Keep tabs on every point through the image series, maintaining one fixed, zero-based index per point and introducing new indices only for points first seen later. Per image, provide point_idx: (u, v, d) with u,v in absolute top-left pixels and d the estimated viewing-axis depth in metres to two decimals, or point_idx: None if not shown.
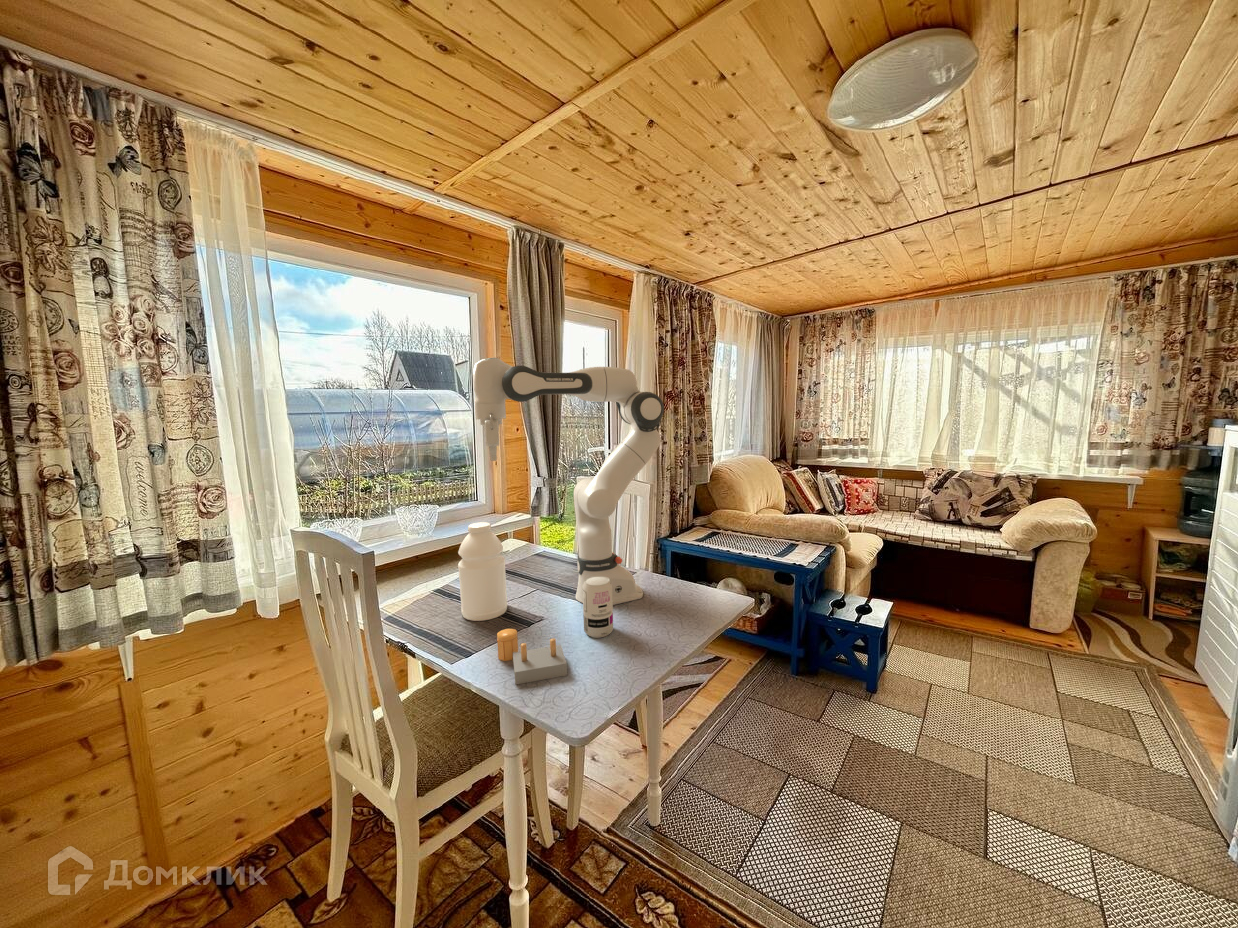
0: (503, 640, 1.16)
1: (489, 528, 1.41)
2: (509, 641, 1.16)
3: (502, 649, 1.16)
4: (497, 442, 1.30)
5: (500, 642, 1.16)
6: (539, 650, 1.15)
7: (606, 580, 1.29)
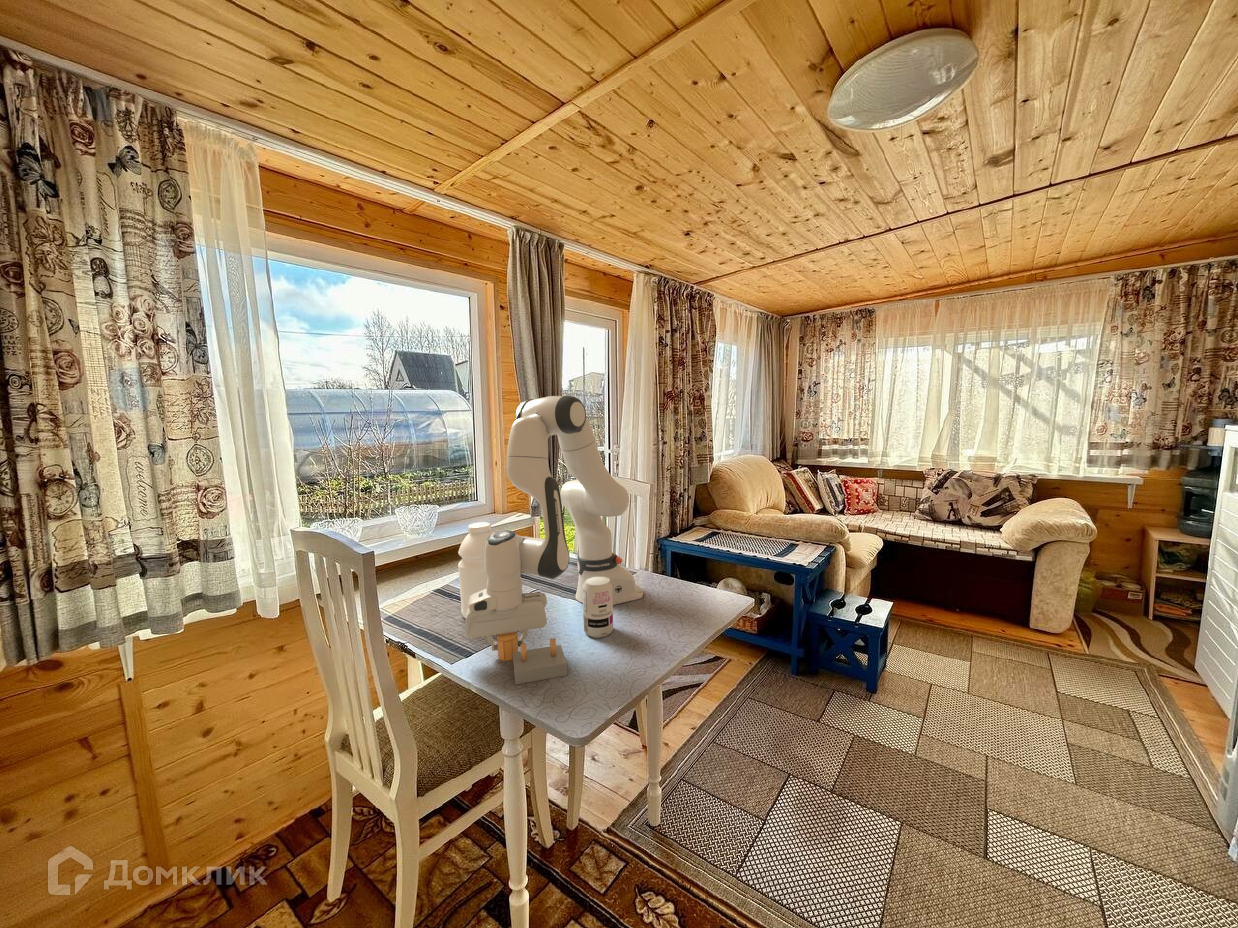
0: (503, 640, 1.16)
1: (489, 528, 1.41)
2: (509, 641, 1.16)
3: (502, 649, 1.16)
4: None
5: (500, 642, 1.16)
6: (539, 650, 1.15)
7: (606, 580, 1.29)
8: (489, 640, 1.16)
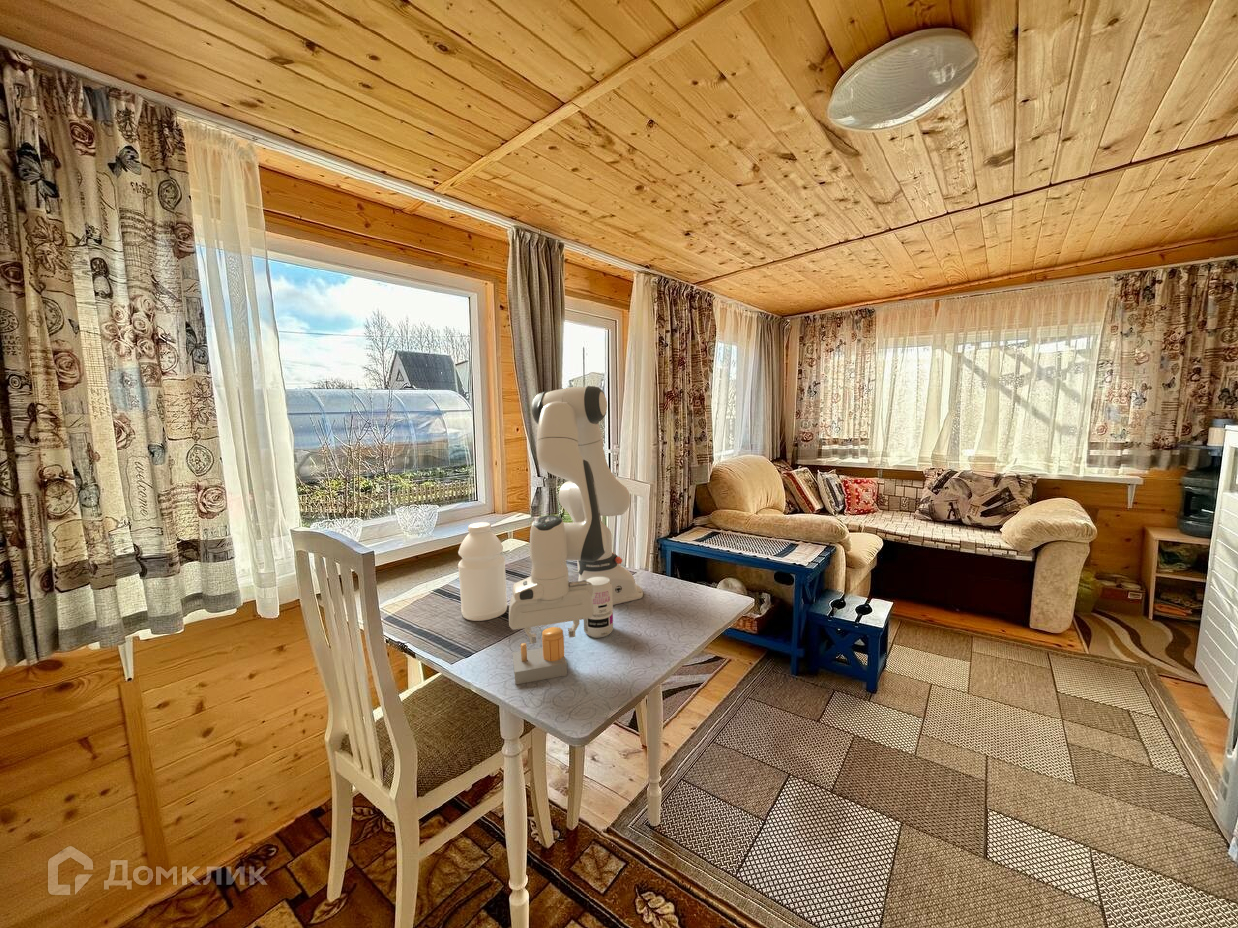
0: (549, 639, 1.09)
1: (489, 528, 1.41)
2: (555, 640, 1.10)
3: (548, 649, 1.10)
4: None
5: (546, 641, 1.10)
6: (539, 650, 1.15)
7: (606, 580, 1.29)
8: (527, 632, 1.09)
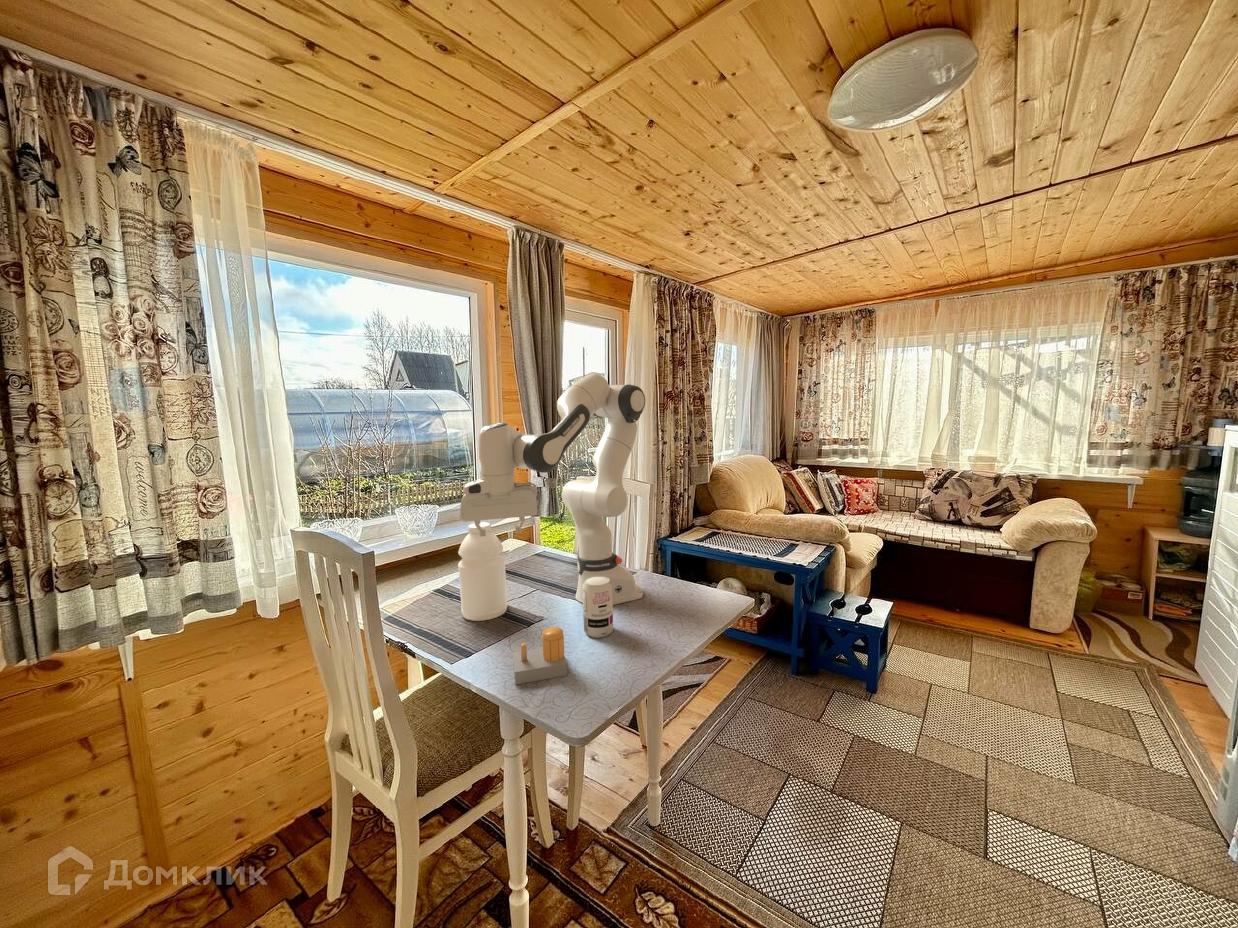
0: (549, 639, 1.09)
1: (489, 528, 1.41)
2: (555, 640, 1.10)
3: (548, 649, 1.10)
4: None
5: (546, 641, 1.10)
6: (539, 650, 1.15)
7: (606, 580, 1.29)
8: (477, 525, 1.23)
